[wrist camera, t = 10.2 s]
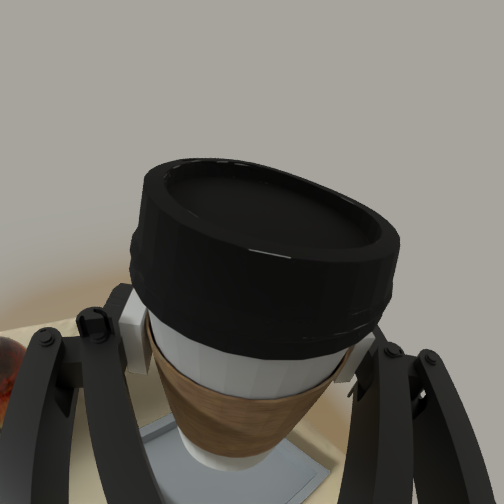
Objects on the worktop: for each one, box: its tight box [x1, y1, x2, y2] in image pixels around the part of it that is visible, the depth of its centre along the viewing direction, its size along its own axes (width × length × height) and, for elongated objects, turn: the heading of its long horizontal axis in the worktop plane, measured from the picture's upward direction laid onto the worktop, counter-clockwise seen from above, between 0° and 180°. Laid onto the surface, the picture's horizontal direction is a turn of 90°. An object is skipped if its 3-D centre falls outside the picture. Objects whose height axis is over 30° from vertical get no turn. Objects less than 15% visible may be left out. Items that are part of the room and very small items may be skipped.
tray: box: [139, 413, 330, 504], centre depth 20 cm, size 16×16×2 cm
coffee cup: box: [129, 158, 400, 471], centre depth 11 cm, size 8×8×15 cm
